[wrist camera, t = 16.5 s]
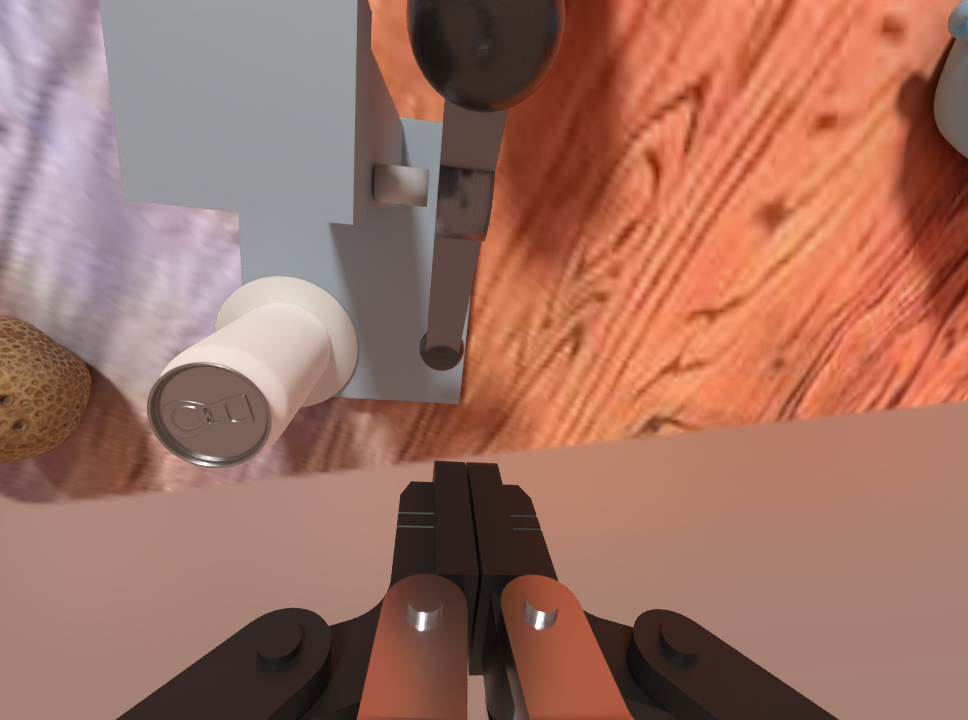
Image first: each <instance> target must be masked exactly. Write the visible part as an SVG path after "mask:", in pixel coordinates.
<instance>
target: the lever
mask: <svg viewBox="0 0 968 720" xmlns="http://www.w3.org/2000/svg"><path fill="white" fill-rule="evenodd" d="M564 27H565V0H407V29H408V35H409V40H410V44H411V48H412V51H413V55H414V57H415V59H416V62H417V64H418V66H419V68H420V69H421V71H422V73H423V75H424V77H425V78H426V79H427V81H428V82H429V84H430V85H431V86H432V87H433V88H434V89H435V90H436V91H437V92H438V93H439V94H440V95H441V96H442V97H444V98H445V103H444V116H443V129H442V142H441V154H440V167H439V180H438V194H437V207H436V221H435V234H434V247H433V260H432V273H431V286H430V299H429V312H428V325H427V332H426V333H425V334H424V336H423V337H422V339H421V341H420V346H419V351H420V356H421V358H422V360H423V362H424V363H425V364H426V365H427V366H428V367H430V368H432V369H434V370H437V371H446V370H450V369H452V368H454V367H455V366H457V365H458V364H459V362H460V361H461V359H462V357H463V354H464V343H463V340H462V335H463V330H464V325H465V320H466V315H467V310H468V305H469V300H470V295H471V290H472V285H473V280H474V275H475V270H476V265H477V260H478V255H479V250H480V245H481V242H484V240H485V238H486V234H487V230H488V225H489V220H490V214H491V207H492V199H493V190H494V179H495V169H496V164H497V159H498V154H499V149H500V144H501V139H502V134H503V129H504V124H505V119H506V114H507V109H509V108H511V107H513V106H516V105H517V104H519V103H521V102H522V101H524V100H525V99H526V98H528V97H529V96H530V95H532V94H533V93H534V92H535V91H536V90H537V89H538V88H539V87H540V85H541V84H542V83H543V82H544V80H545V79H546V77H547V76H548V74H549V73H550V71H551V69H552V67H553V65H554V63H555V61H556V59H557V56H558V53H559V50H560V47H561V43H562V38H563V34H564Z"/></svg>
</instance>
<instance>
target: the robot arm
mask: <svg viewBox="0 0 968 720" xmlns="http://www.w3.org/2000/svg"><path fill="white" fill-rule="evenodd" d="M467 659H468V671H469V675H483V676H484V685H485V701H484V708H483V716H482V720H838V719H837V718H835V717H834V716H833V715H831V714H830V713H828V712H827V711H825V710H824V709H822V708H821V707H819V706H817V705H816V704H815V703H813V702H812V701H811V700H809V699H808V698H806V697H805V696H803V695H802V694H800V693H798V692H797V691H796V690H794V689H793V688H791V687H790V686H788V685H787V684H786V683H784V682H782V681H781V680H780V679H778V678H777V677H775V676H774V675H772V674H771V673H769V672H768V671H766V670H765V669H763V668H762V667H760V666H759V665H758V664H756V663H754V662H753V661H751V660H750V659H749V658H747V657H746V656H744V655H743V654H741V653H740V652H738V651H737V650H735V649H734V648H732V647H731V646H730V645H728V644H726V643H725V642H724V641H722V640H721V639H719V638H718V637H716V636H715V635H713V634H712V633H711V632H709V631H708V630H706V629H705V628H703V627H702V626H700V625H699V624H697V623H696V622H694V621H693V620H691V619H689V618H688V617H685V616H683V615H681V614H679V613H676V612H673V611H669V610H662V609H655V610H654V609H653V610H649V611H646V612H644V613H642V614H641V615H640V616H638V618H637V620H636V621H635V624H634V627H630V626H626V625H622V624H619V623H616V622H612V621H608V620H605V619H602V618H599V617H596V616H594V615H592V614H589V613H587V612H586V611H584V610H582V607H581V605H580V603H579V601H578V600H577V598H576V597H575V595H574V594H573V593H572V592H571V591H570V590H569V589H568V588H567V587H566V586H564V585H563V584H561V583H560V582H558V579H557V576H556V573H555V570H554V567H553V564H552V561H551V558H550V555H549V552H548V549H547V546H546V543H545V540H544V537H543V533H542V531H541V530H540V524H539V521H538V518H537V517H536V512H535V509H534V506H533V504H532V500H531V498H530V497H529V496H528V495H527V494H526V493H525V492H524V491H523V490H522V489H521V488H520V487H519V486H518V485H503V484H502V480H501V477H500V472H499V468H498V465H497V464H496V463H476V462H467V463H466V465H465V462H450V461H435V462H434V471H433V482H413V481H412V482H410V484H409V485H408V486H407V488H406V489H405V490H404V491H403V492H402V493H401V495H400V504H399V514H398V521H397V530H396V539H395V548H394V556H393V566H392V574H391V582H390V586H389V589H388V591H387V593H386V595H385V596H384V598H383V599H382V600H381V601H380V603H379V604H378V605H377V606H375V607H374V608H373V609H371V610H370V611H369V612H367V613H365V614H363V615H361V616H359V617H358V618H354V619H352V620H348V621H345V622H341V623H338V624H335V625H331V626H328V625H327V623H326V622H325V620H324V619H322V618H321V617H320V616H319V615H318V614H316V613H315V612H312V611H309V610H307V609H301V608H285V609H280V610H276V611H273V612H270V613H267V614H265V615H263V616H261V617H259V618H257V619H256V620H254V621H252V622H251V623H249V624H248V625H246V626H245V627H244V628H242V629H241V630H240V631H238V632H237V633H235V634H234V635H233V636H231V637H230V638H228V639H227V640H226V641H224V642H223V643H221V644H220V645H219V646H217V647H216V648H215V649H213V650H212V651H210V652H209V653H208V654H206V655H205V656H203V657H202V658H201V659H200V660H198V661H197V662H195V663H194V664H192V665H191V666H190V667H188V668H187V669H185V670H184V671H183V672H181V673H180V674H178V675H177V676H176V677H174V678H173V679H172V680H170V681H169V682H167V683H166V684H165V685H163V686H162V687H160V688H159V689H158V690H156V691H155V692H154V693H152V694H151V695H149V696H148V697H147V698H145V699H144V700H142V701H141V702H140V703H138V704H137V705H135V706H134V707H133V708H131V709H130V710H129V711H127V712H126V713H124V714H123V715H122V716H120V717H119V718H117V719H116V720H467Z"/></svg>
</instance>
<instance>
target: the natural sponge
mask: <svg viewBox="0 0 968 720" xmlns="http://www.w3.org/2000/svg"><path fill="white" fill-rule="evenodd" d="M90 392H91V377H90V373H89V370H88V368H87V366H86V365H85V363H84V362H83V361H82V360H80V359H79V358H78V357H77V356H76V355H74V354H73V353H72V352H71V351H69V350H67V349H66V348H64V347H63V346H61V345H59V344H57V343H56V342H55V341H53V340H52V339H51V338H49V337H48V336H47V335H46V334H44V333H43V332H42V331H40V330H39V329H37V328H36V327H34V326H32V325H30V324H28V323H26V322H24V321H22V320H19V319H17V318H13V317H9V316H0V463H8V462H15V461H19V460H24V459H27V458H30V457H33V456H36V455H40V454H43V453H45V452H48V451H50V450H52V449H54V448H56V447H57V446H59V445H60V444H62V443H63V442H64V441H65V440H66V439H67V438H68V437H69V436H70V435H71V434H72V433H73V432H74V431H75V429H76V428H77V427H78V426H79V424H80V422H81V420H82V418H83V416H84V414H85V411H86V408H87V405H88V402H89V398H90Z"/></svg>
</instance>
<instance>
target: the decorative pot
mask: <svg viewBox="0 0 968 720" xmlns="http://www.w3.org/2000/svg"><path fill="white" fill-rule="evenodd" d="M948 29H949V32H950V34H951V35H952V36H953V37H954V38H956V40H955V42H954V44H953V47H952V49H951V51H950V53H949V56H948V58H947V60H946V63H945V66H944V68H943V71H942V73H941V76H940V79H939V82H938V86H937V89H936V92H935V98H934V104H933V105H934V118H935V122H936V125H937V127H938V129H939V131H940V133H941V134H942V135H943V137H944V138H945V139H946V140H947V141H948V142H949V143H950V144H951V145H952V146H953V147H954V148H955V149H956V150H957V151H958V152H960V153H961V154H962V155H963V156H965V157H966V158H967V159H968V0H963V1H962V2H961V3H960V4H959V5H958V6H957V7H956V8H955V9H954V11H953V12H952V13H951V15H950V16H949V20H948Z"/></svg>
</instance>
